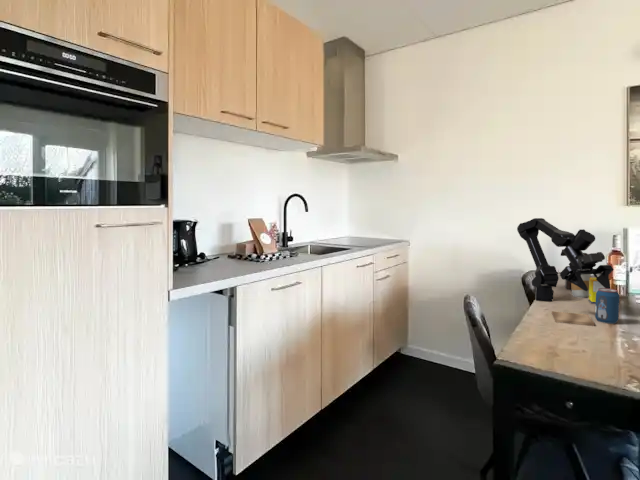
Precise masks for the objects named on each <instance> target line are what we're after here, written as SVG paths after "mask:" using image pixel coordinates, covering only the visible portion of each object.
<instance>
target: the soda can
mask: <svg viewBox="0 0 640 480" xmlns="http://www.w3.org/2000/svg"><path fill="white" fill-rule="evenodd" d="M594 305H595V308H594V310H595V312H594V318H595V320H596V321H597V322H598V323H601V324H608V325H615V324H616V323H618V321H619V318H620V317H619V313H620V293H619V292H618V290H617V289H614V288H611V289H608V288H599V289H598V291H597V293H596V304H594Z"/></svg>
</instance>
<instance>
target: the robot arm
mask: <svg viewBox="0 0 640 480" xmlns="http://www.w3.org/2000/svg"><path fill="white" fill-rule="evenodd" d="M516 230H517V233H518V234H519V237H520V238H521V239H523V240H524V241H525V242H526V245H527V246H528V249H529V252H530V255H531V257H532V259H533V262H534V264H535V268H536V269H535V271H534V272H535V273H534V275H535V277H534V278H533V279H532V280H531V286H533V287H535V296H534V298H535V301H542V302H553V300H554V294H555V293H554V290H553V288H556V287H557V285H558V281H559V278H561V280H563V281H565V280H566V281H569V282H571V283H573V284H575V285H576V286H578V287H580V288H581V289H583V290H585V291H587V290H588V288H587V286H586V284H585V283H584V281H583V279H582V278H581V275H586V274H591V275H593V277H596V280H597V281H598V282H599V283H600V284H601V285H602V286H604V287H605V288H608V289H612V288H611V284H610V280H609V279H610V278H609V276H610V274H611V273H612V272H614V270H615V269H614V267H612V265H611V264H599V265H598V266H597V264H598V263H601V262H603V261H604V260H606V256H605V254H604V253H603V252H602V251H597V252H593V253H587V255H584V254H583V253H584V252H583V251H586V250H588V248H589V247H590V246H591V245H592V244H593V243H594V242H595V241H596V236H595V234H592V233H590V231H589V232H588V231H587V230H585V229H579V230H578V231H577V232H576V233H575V234H574V233H572V232H569V231H566V230H561V229H559V228H558V227H557V226H555V225H553V224H552V223H550V222H548V221H547V220H546V219H545V218H542V217H540V218H538V217H537V218H532V219H531V220H528V221H524V222H520V223H519V224H518V225H517V229H516ZM539 231H540V232H542V233H543V234H545V235H546V236H548V237H549V238H550V239H551V242H552V243H553V245H554V246H556V247H558V248H563V249H561V252H560V257H563V256H565V257H566V258H567V259H568V262H569V263H568V265H566V266H565V267H564V268H563V269H562V271H561V272H560V273H559V272H558V271H557V269H556V267H555V265H550V264H549V263H548V261H547V258H546V255H545V253H544V250H543V247H542V246H541V244H540V241H539V238H538V237H539ZM596 266H597V268H594V267H596ZM559 276H560V277H559Z"/></svg>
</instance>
